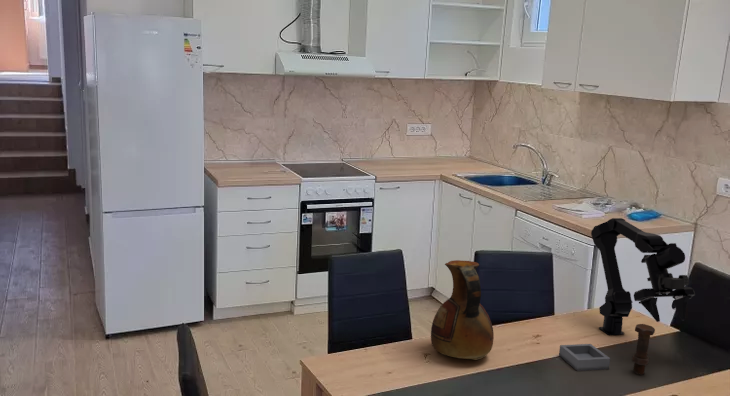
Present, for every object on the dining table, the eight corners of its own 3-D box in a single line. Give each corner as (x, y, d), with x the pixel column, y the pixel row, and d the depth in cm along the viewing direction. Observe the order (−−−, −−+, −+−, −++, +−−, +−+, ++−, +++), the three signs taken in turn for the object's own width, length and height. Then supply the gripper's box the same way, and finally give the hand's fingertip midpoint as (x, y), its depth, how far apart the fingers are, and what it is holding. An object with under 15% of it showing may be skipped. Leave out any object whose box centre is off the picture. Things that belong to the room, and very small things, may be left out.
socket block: (558, 355, 210) (560, 345, 210) (589, 353, 213) (590, 343, 212) (577, 370, 200) (578, 360, 199) (608, 369, 202) (610, 358, 202)
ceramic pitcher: (473, 338, 220) (481, 253, 214) (503, 364, 201) (513, 271, 195) (419, 343, 214) (426, 255, 208) (446, 370, 195) (454, 274, 189)
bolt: (645, 370, 203) (652, 324, 200) (650, 377, 198) (658, 331, 195) (626, 368, 204) (632, 323, 201) (631, 375, 199) (638, 329, 196)
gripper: (649, 266, 200) (662, 317, 195) (700, 265, 205) (714, 314, 199) (627, 276, 210) (639, 324, 205) (676, 274, 215) (689, 321, 209)
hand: (670, 321), depth 204 cm, fingers open, 9 cm apart
